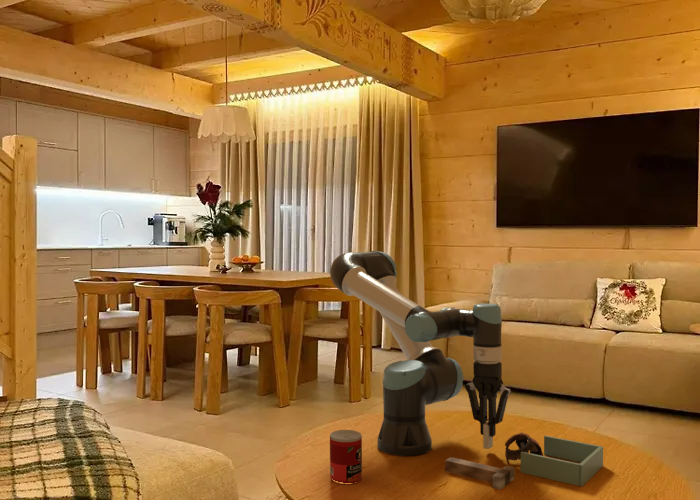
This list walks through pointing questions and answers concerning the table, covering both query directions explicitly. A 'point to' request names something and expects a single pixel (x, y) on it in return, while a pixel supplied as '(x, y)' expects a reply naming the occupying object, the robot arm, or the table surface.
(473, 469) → the hammer
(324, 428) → the table surface
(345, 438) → the canned food
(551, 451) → the green u-shaped frame
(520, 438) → the pottery mug
